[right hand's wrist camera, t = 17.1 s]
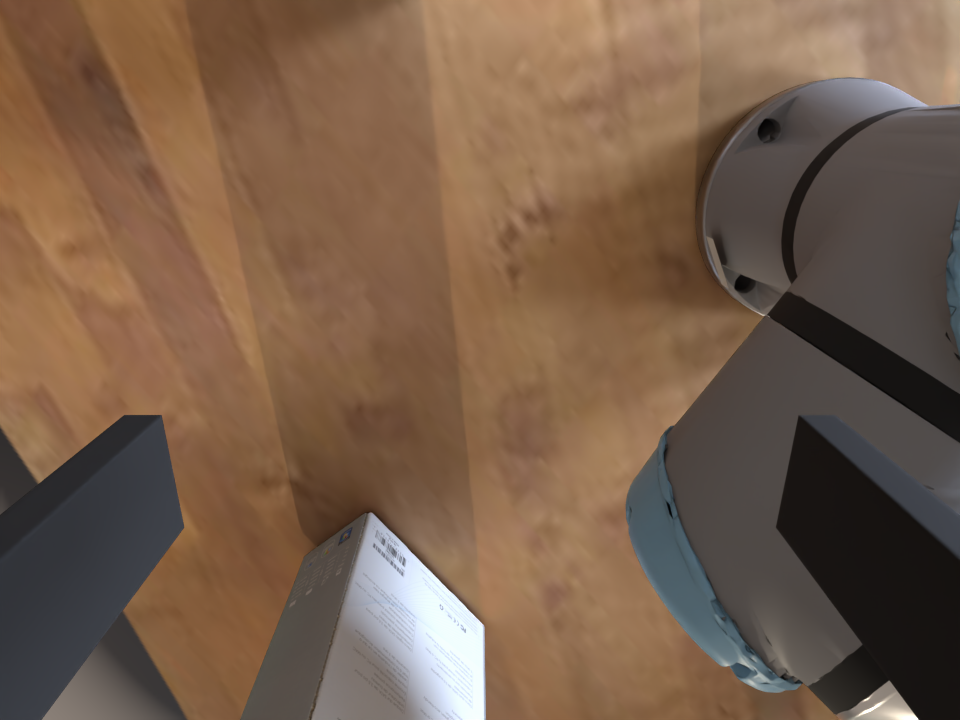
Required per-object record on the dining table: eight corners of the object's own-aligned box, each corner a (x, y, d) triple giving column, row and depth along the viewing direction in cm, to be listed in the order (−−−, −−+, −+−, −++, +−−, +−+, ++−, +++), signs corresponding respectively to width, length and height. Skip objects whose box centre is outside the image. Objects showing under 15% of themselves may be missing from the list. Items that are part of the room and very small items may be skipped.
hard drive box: (300, 555, 51) (196, 803, 32) (369, 506, 49) (302, 738, 30) (422, 667, 55) (392, 943, 36) (489, 625, 53) (494, 893, 35)
